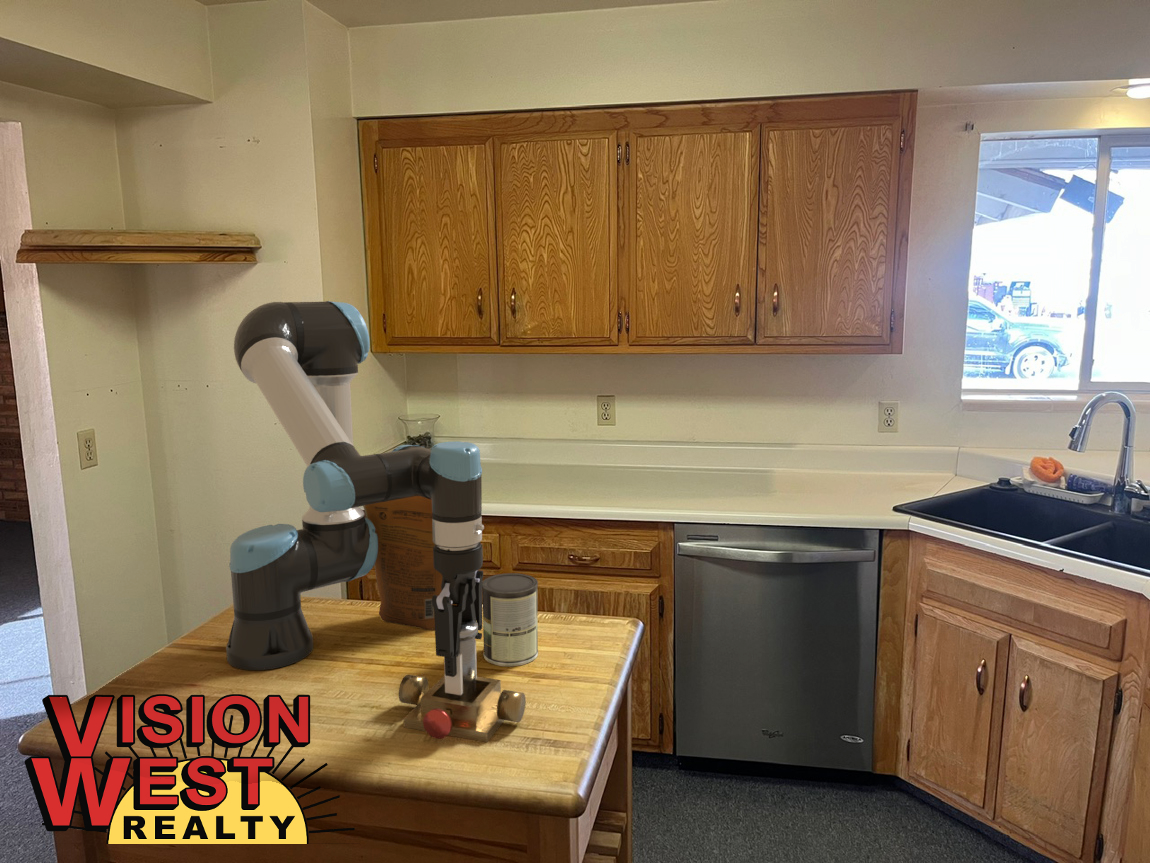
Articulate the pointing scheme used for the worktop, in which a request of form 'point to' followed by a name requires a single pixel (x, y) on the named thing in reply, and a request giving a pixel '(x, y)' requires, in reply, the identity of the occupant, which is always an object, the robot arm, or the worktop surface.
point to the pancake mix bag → (405, 561)
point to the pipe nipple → (467, 661)
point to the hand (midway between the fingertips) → (461, 685)
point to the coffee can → (510, 619)
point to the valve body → (459, 708)
